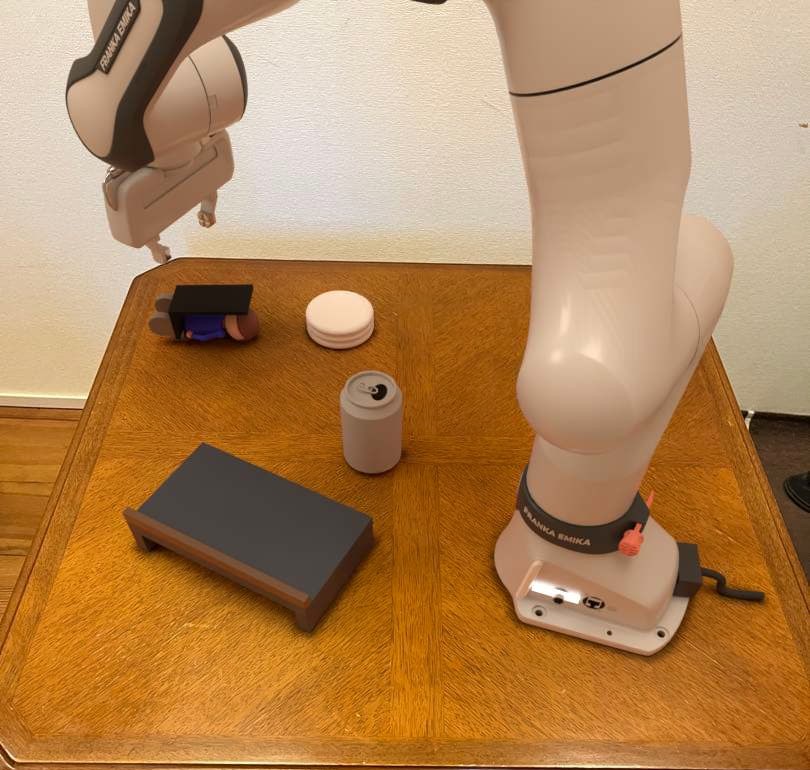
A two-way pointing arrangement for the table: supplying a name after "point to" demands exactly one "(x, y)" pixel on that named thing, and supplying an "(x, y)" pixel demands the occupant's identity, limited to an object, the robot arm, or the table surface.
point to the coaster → (340, 319)
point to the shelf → (255, 530)
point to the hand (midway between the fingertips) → (186, 242)
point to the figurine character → (206, 312)
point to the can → (371, 421)
